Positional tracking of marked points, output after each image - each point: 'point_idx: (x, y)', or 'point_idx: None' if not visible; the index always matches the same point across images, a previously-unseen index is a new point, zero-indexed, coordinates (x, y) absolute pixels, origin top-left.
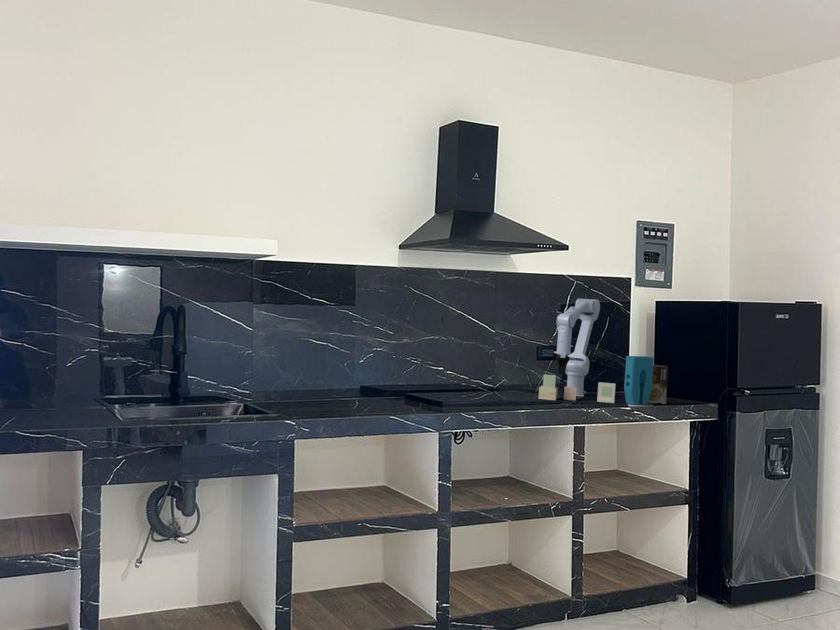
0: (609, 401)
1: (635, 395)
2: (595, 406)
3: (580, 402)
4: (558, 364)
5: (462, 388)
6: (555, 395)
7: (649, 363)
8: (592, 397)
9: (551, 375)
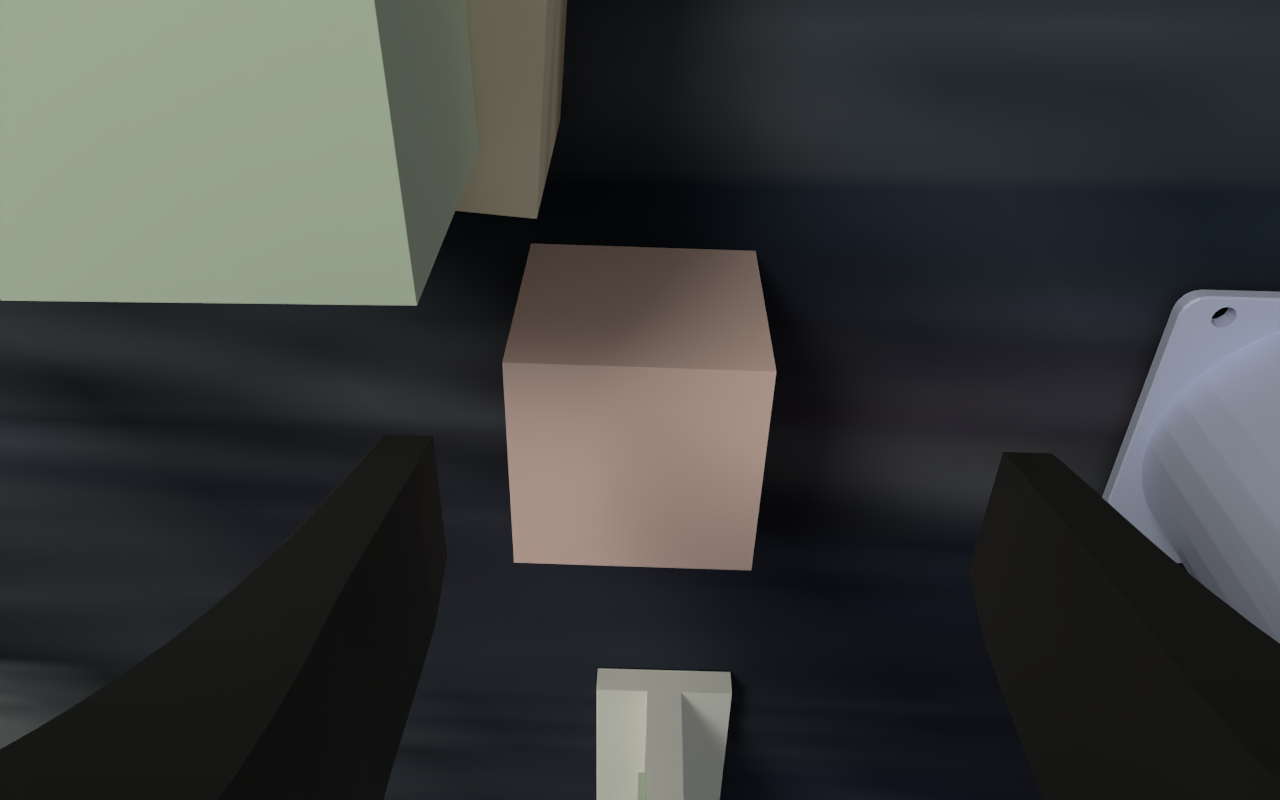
0: (597, 783)
1: None
2: (19, 624)
3: (302, 479)
4: (141, 663)
5: None
6: None
7: None
8: None
9: (202, 160)
